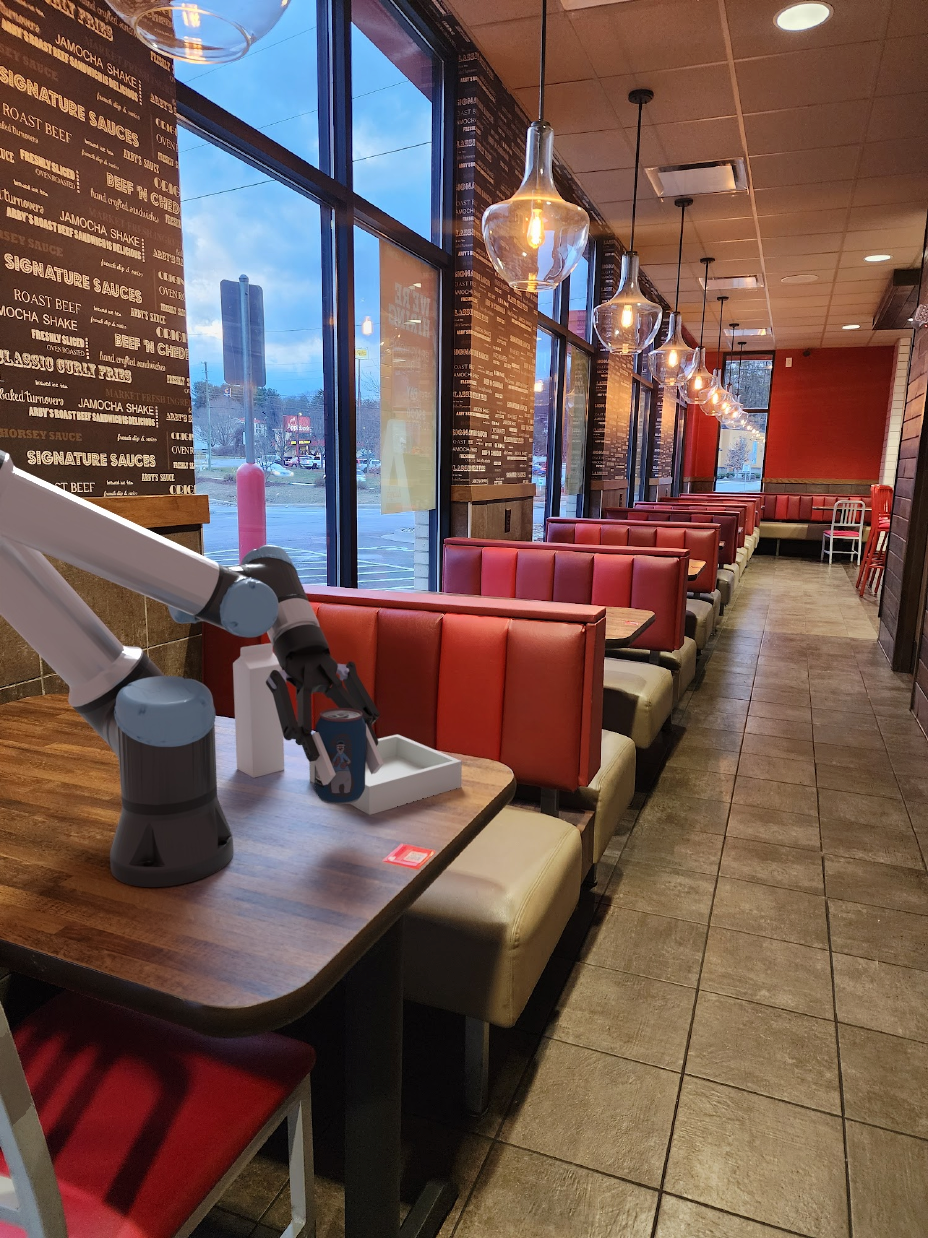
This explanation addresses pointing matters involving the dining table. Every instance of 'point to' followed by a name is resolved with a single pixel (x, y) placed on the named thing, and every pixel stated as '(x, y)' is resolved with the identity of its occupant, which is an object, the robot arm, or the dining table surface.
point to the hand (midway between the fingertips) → (353, 774)
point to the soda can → (342, 755)
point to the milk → (257, 713)
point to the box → (405, 775)
